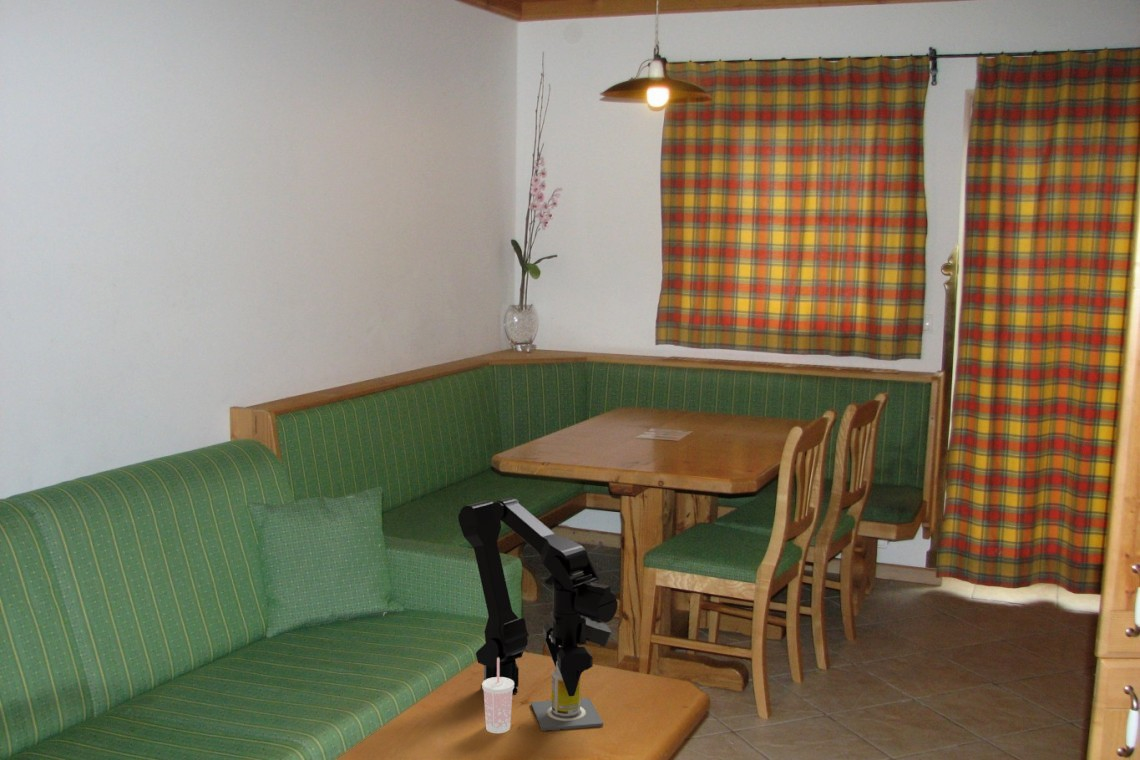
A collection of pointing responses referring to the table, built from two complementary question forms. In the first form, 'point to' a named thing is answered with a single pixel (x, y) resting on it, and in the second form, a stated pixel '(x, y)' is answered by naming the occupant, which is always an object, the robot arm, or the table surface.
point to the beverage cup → (498, 702)
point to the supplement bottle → (563, 696)
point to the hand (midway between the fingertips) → (566, 686)
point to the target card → (556, 722)
